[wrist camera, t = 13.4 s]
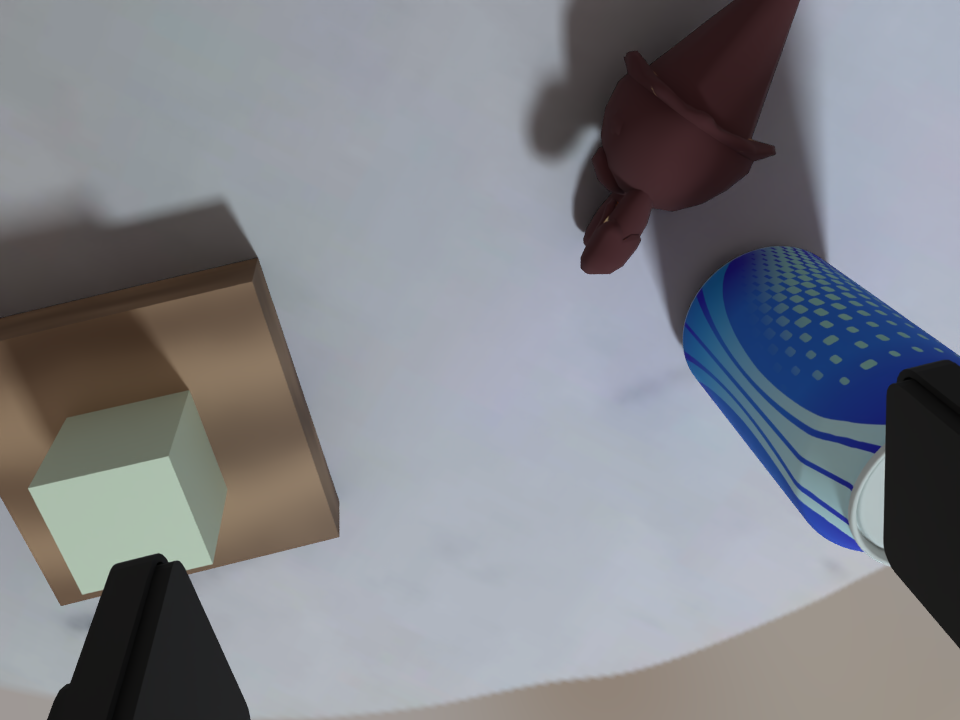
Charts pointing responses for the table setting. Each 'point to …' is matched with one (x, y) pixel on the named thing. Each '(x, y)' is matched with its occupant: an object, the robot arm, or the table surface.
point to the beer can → (807, 380)
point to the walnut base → (163, 371)
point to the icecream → (684, 124)
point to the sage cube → (131, 488)
